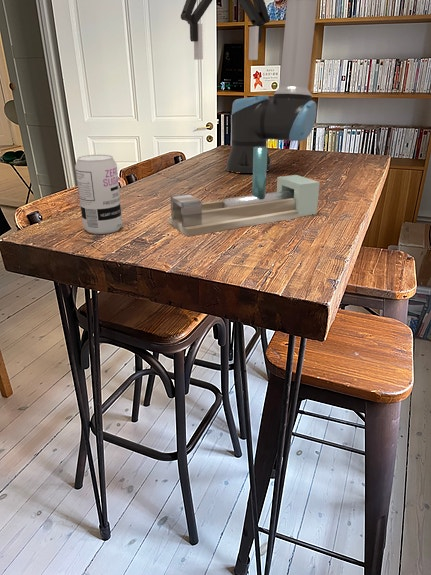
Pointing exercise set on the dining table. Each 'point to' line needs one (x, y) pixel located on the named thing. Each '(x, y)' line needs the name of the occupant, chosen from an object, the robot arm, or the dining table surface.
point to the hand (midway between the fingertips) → (226, 59)
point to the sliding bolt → (258, 184)
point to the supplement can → (99, 193)
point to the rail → (225, 214)
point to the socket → (301, 193)
